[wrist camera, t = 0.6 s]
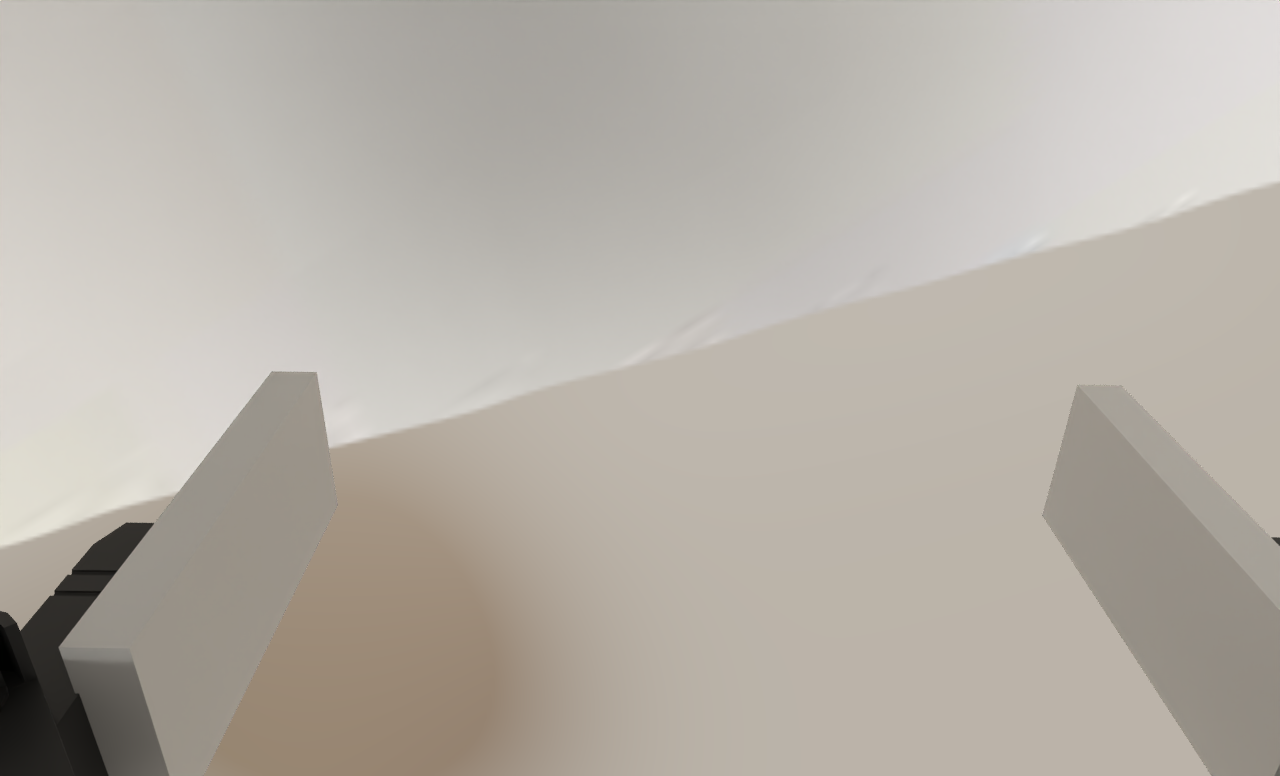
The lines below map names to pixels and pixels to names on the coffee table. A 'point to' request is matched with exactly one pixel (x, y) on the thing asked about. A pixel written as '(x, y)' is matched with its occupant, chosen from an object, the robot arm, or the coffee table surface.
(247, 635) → the robot arm
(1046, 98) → the coffee table surface
